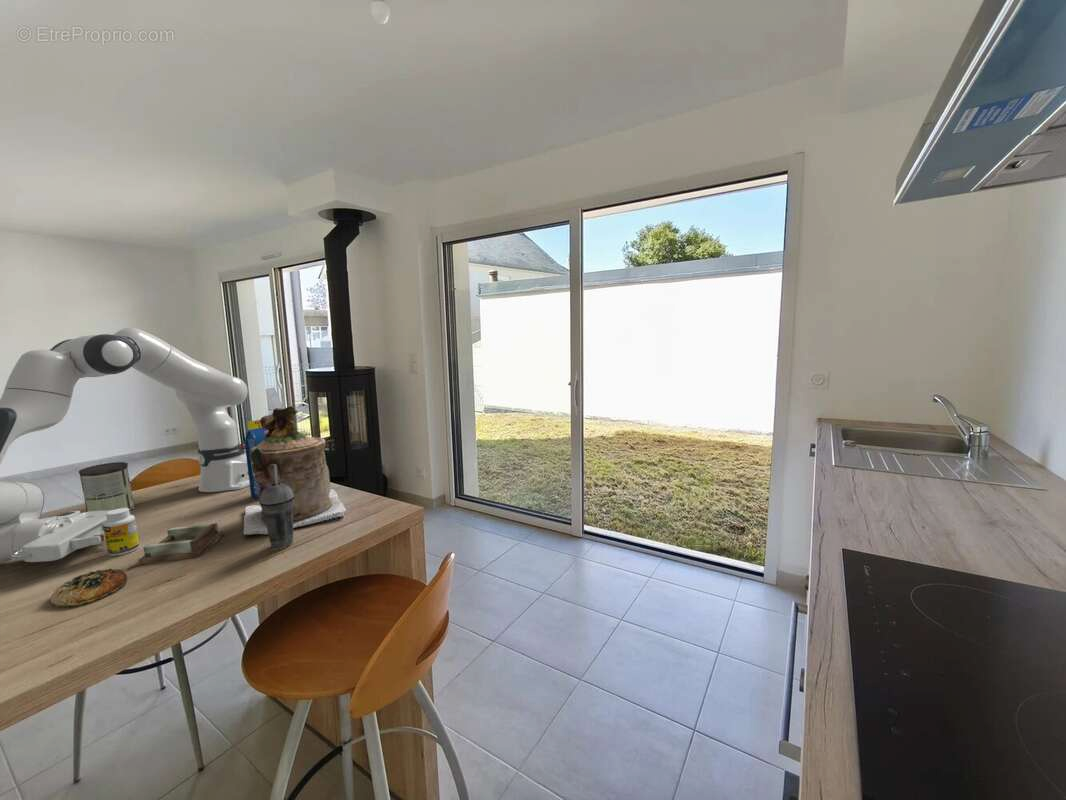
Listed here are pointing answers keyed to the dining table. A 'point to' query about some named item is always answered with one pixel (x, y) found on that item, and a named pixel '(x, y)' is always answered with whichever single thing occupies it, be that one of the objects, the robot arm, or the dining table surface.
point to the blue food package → (252, 440)
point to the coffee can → (106, 487)
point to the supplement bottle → (120, 532)
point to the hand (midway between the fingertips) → (116, 530)
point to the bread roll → (89, 587)
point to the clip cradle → (182, 543)
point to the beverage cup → (278, 513)
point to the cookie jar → (292, 473)
